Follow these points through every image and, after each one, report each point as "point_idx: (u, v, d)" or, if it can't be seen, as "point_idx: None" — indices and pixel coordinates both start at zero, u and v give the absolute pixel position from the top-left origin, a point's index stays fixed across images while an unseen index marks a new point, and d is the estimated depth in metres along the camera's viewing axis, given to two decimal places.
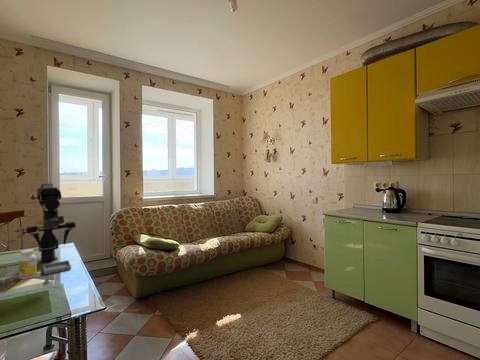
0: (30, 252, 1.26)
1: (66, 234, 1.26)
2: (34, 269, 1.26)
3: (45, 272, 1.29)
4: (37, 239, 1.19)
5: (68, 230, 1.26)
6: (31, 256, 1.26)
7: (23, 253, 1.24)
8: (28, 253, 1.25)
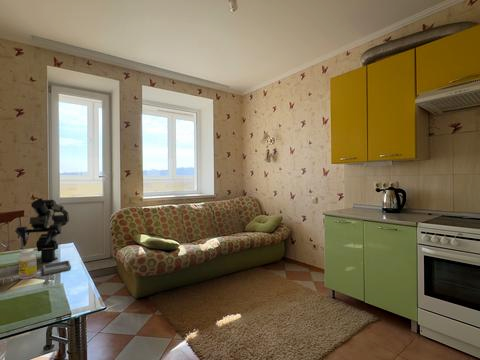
0: (30, 252, 1.26)
1: (49, 234, 1.37)
2: (34, 269, 1.26)
3: (45, 272, 1.29)
4: (23, 237, 1.33)
5: (50, 230, 1.38)
6: (31, 256, 1.26)
7: (23, 253, 1.24)
8: (28, 253, 1.25)
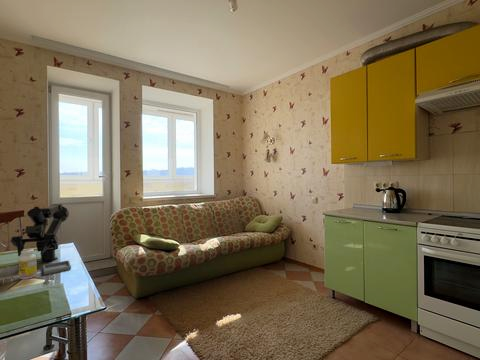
0: (30, 252, 1.26)
1: (44, 244, 1.33)
2: (34, 269, 1.26)
3: (45, 272, 1.29)
4: (18, 247, 1.29)
5: (47, 240, 1.33)
6: (31, 256, 1.26)
7: (23, 253, 1.24)
8: (28, 253, 1.25)
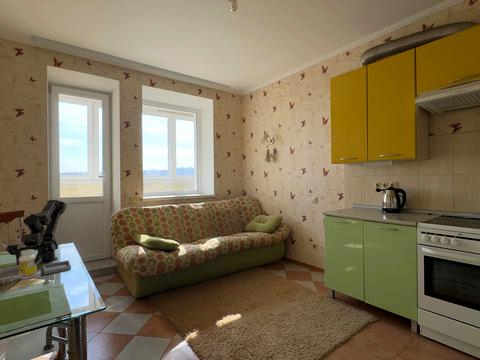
0: (30, 252, 1.26)
1: (39, 253, 1.29)
2: (34, 269, 1.26)
3: (45, 272, 1.29)
4: (17, 256, 1.26)
5: (41, 248, 1.29)
6: (31, 256, 1.26)
7: (23, 252, 1.24)
8: (28, 253, 1.25)
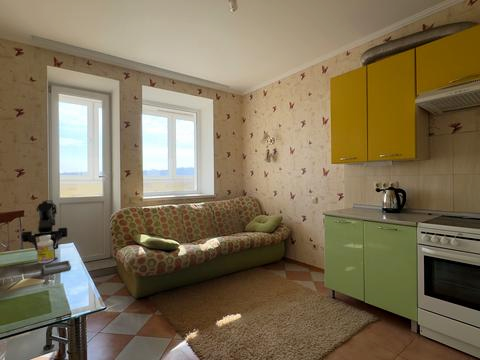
0: (49, 237, 1.31)
1: (56, 238, 1.35)
2: (53, 253, 1.33)
3: (45, 272, 1.29)
4: (34, 241, 1.30)
5: (57, 233, 1.36)
6: (50, 241, 1.32)
7: (42, 238, 1.29)
8: (47, 238, 1.31)
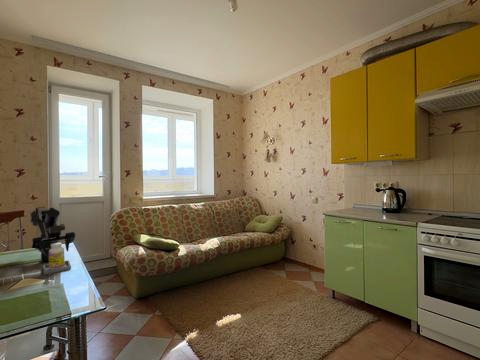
0: (61, 244, 1.37)
1: (68, 242, 1.41)
2: (64, 260, 1.38)
3: (45, 272, 1.29)
4: (43, 247, 1.33)
5: (69, 238, 1.42)
6: (62, 248, 1.37)
7: (55, 245, 1.34)
8: (59, 245, 1.36)
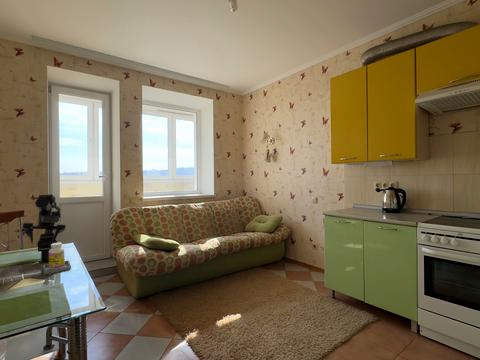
0: (61, 244, 1.37)
1: (56, 233, 1.42)
2: (64, 260, 1.38)
3: (45, 272, 1.29)
4: (31, 234, 1.34)
5: (59, 230, 1.43)
6: (62, 248, 1.37)
7: (55, 245, 1.34)
8: (60, 245, 1.36)
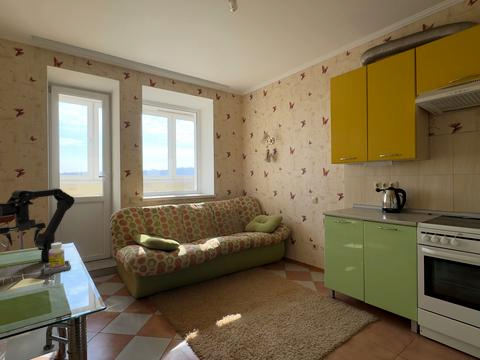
0: (61, 244, 1.37)
1: (36, 233, 1.40)
2: (64, 260, 1.38)
3: (45, 272, 1.29)
4: (9, 238, 1.32)
5: (38, 230, 1.40)
6: (62, 248, 1.37)
7: (55, 245, 1.34)
8: (60, 245, 1.36)
